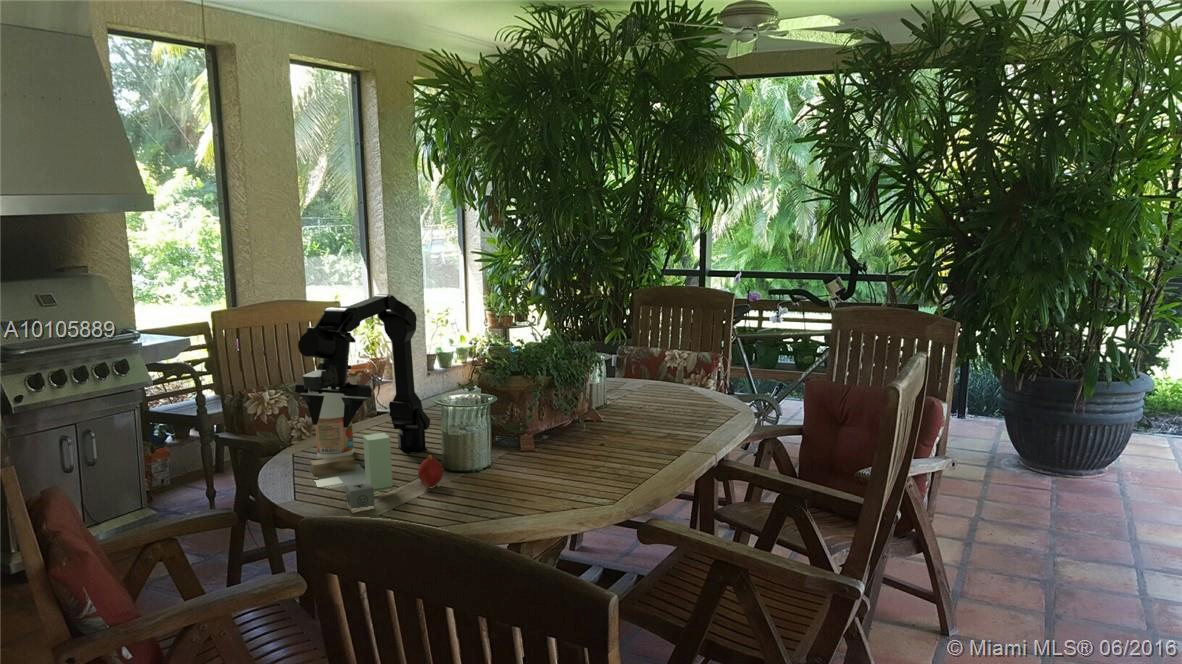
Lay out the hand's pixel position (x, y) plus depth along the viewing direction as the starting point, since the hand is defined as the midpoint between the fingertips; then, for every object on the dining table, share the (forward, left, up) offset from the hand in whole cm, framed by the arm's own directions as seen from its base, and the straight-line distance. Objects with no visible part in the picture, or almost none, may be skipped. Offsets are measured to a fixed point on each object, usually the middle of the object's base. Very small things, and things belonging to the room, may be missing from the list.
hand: (330, 426), depth 195 cm
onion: (-20, +12, -15) cm, 28 cm away
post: (-9, +7, -15) cm, 19 cm away
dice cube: (-2, +17, -16) cm, 23 cm away
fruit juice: (-6, -26, -15) cm, 31 cm away
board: (-2, -5, -15) cm, 16 cm away
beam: (-2, -10, -14) cm, 17 cm away
